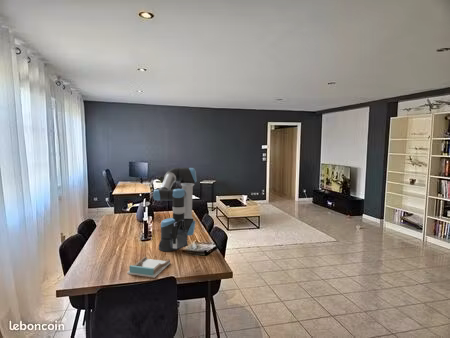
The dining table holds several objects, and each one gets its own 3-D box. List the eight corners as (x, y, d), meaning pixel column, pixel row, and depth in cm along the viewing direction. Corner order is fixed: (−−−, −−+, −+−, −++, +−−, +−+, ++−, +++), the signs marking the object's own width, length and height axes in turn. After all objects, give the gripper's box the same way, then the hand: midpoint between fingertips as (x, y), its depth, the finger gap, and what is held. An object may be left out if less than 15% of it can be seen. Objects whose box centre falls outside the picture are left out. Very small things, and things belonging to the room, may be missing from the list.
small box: (181, 243, 192) (181, 228, 191) (187, 245, 188) (188, 230, 187) (169, 247, 183) (169, 232, 182) (175, 250, 179) (175, 234, 178)
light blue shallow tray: (145, 260, 199) (145, 253, 198) (170, 263, 194) (170, 255, 194) (127, 273, 177) (127, 265, 177) (154, 277, 173) (154, 269, 172)
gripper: (180, 208, 196) (180, 238, 198) (165, 217, 172) (165, 251, 174) (190, 208, 194) (190, 239, 196) (176, 217, 171) (176, 252, 173)
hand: (178, 244), depth 185 cm, fingers closed on small box, 12 cm apart
